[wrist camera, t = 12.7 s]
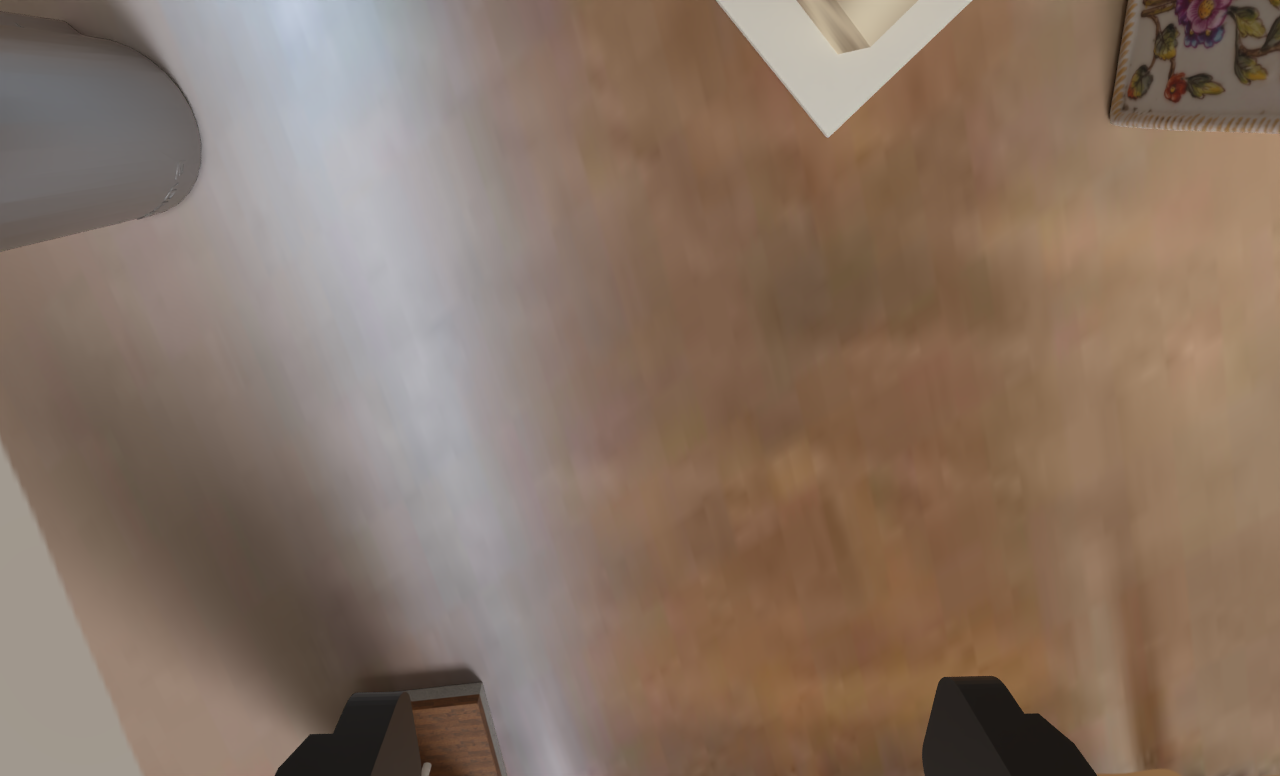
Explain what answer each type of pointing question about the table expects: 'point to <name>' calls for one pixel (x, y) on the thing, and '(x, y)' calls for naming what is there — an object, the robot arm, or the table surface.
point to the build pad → (833, 53)
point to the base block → (854, 20)
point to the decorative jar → (1199, 66)
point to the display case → (456, 731)
